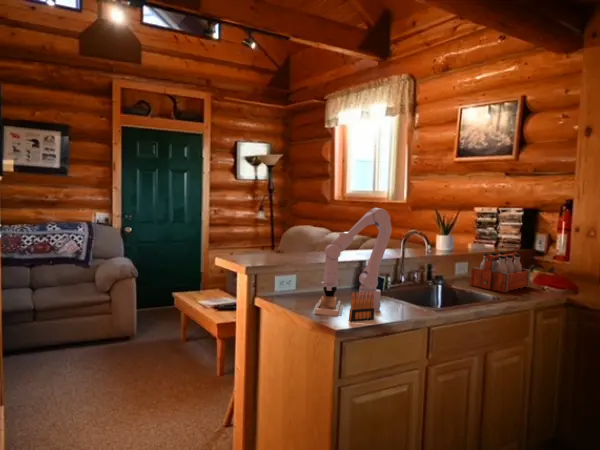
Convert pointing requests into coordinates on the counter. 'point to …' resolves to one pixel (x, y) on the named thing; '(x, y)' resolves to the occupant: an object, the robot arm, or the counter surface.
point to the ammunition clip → (362, 307)
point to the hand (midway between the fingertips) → (329, 303)
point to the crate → (328, 302)
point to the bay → (328, 310)
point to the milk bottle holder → (500, 273)
